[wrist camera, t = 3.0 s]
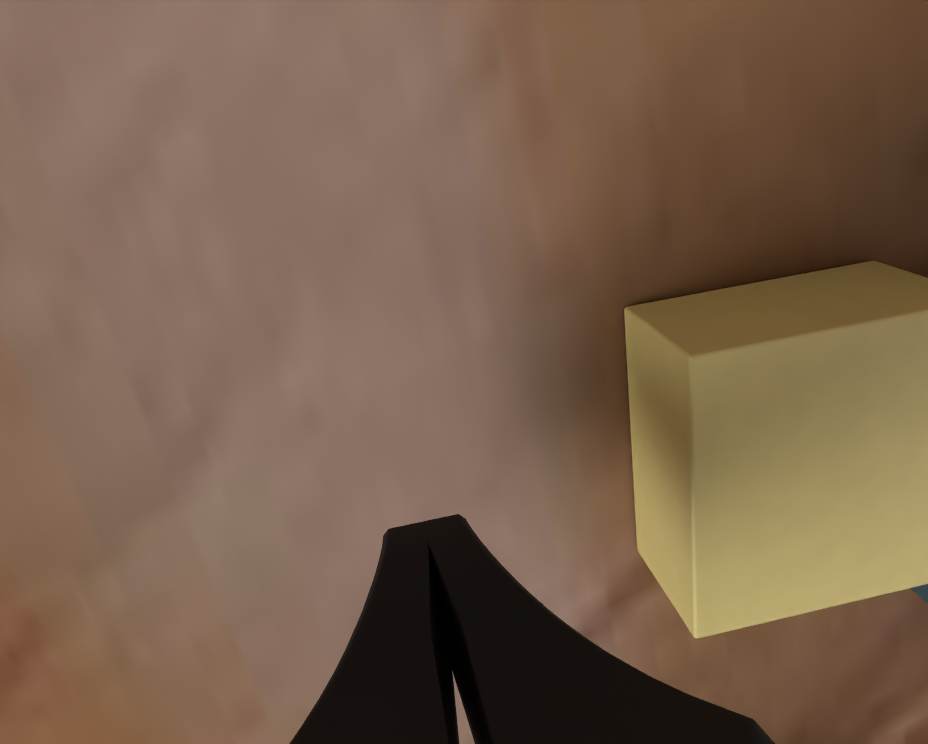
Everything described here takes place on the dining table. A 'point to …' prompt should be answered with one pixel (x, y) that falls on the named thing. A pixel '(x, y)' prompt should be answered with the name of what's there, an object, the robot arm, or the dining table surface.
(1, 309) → the dining table surface
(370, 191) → the dining table surface
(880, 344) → the block
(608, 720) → the robot arm
